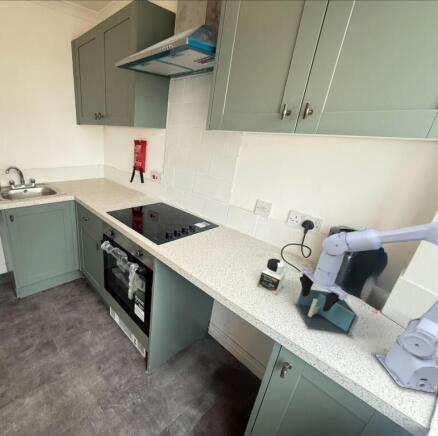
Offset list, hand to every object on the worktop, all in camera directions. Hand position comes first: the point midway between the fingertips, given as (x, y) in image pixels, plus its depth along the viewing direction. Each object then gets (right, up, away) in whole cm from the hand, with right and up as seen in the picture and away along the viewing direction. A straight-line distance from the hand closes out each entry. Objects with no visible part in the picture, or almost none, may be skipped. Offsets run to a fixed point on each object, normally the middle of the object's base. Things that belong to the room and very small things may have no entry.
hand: (314, 302), depth 84 cm
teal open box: (+3, -6, +1) cm, 7 cm away
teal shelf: (+2, -6, -2) cm, 7 cm away
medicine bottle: (-7, +1, +18) cm, 19 cm away
